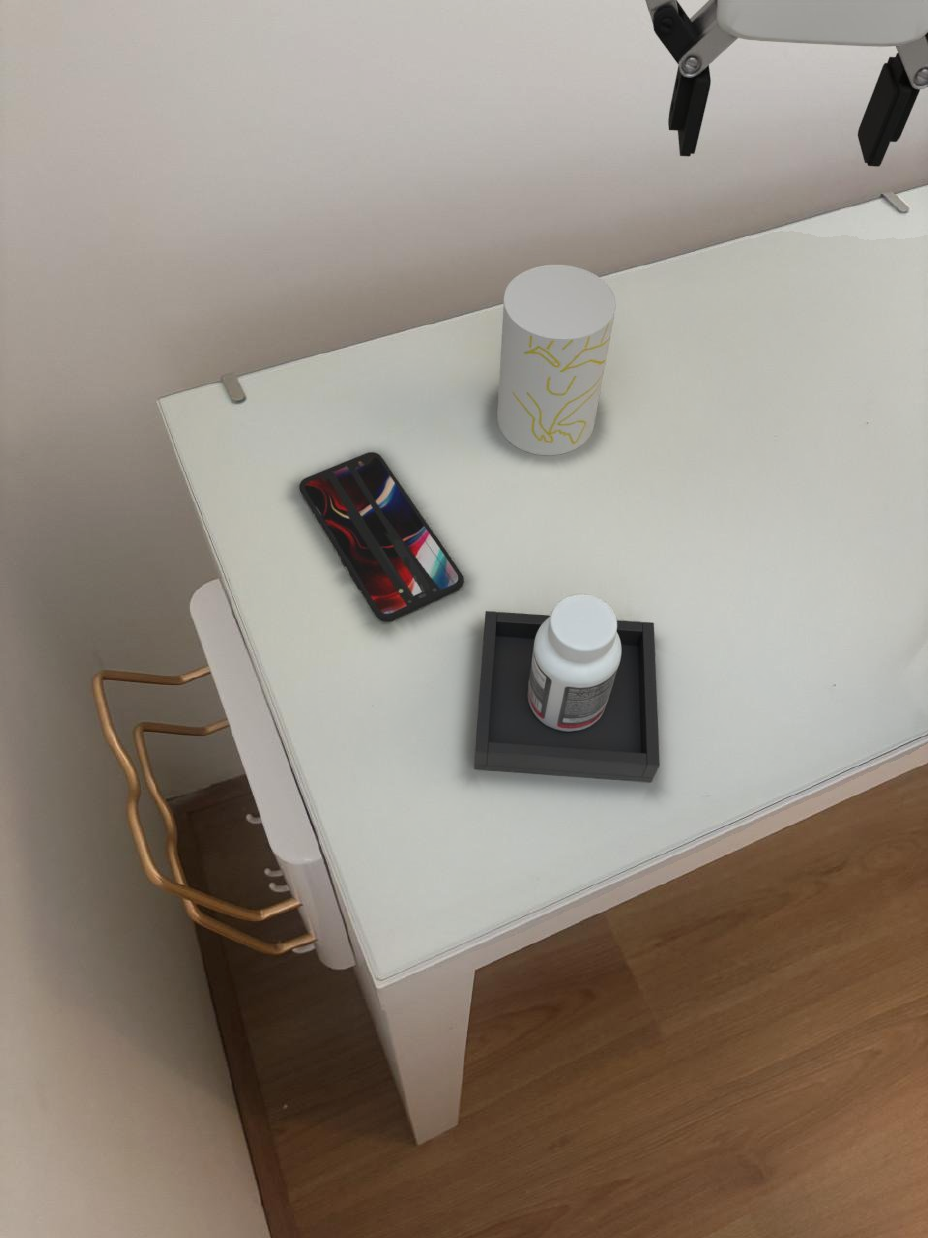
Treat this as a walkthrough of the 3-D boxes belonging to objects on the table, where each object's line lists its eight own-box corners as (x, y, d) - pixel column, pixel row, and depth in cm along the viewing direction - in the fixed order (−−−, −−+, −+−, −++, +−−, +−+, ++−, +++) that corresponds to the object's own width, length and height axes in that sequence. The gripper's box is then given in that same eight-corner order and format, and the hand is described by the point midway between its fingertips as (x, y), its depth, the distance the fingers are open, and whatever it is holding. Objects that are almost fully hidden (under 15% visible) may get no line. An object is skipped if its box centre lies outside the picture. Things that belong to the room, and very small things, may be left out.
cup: (513, 463, 74) (523, 348, 64) (485, 393, 78) (490, 274, 68) (608, 444, 75) (632, 327, 65) (575, 376, 79) (593, 256, 69)
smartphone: (376, 447, 74) (468, 581, 67) (376, 453, 74) (468, 587, 67) (294, 481, 72) (380, 623, 65) (295, 487, 72) (380, 628, 66)
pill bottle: (616, 679, 63) (641, 602, 54) (591, 746, 60) (613, 675, 52) (543, 652, 64) (556, 572, 56) (514, 716, 61) (524, 642, 53)
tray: (646, 642, 65) (654, 622, 63) (651, 782, 60) (659, 766, 57) (484, 631, 66) (485, 610, 63) (474, 769, 60) (474, 752, 58)
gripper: (1119, -319, 36) (926, 116, 50) (675, -336, 36) (612, 99, 51) (1184, -253, 32) (955, 198, 46) (685, -273, 32) (613, 179, 47)
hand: (775, 146), depth 49 cm, fingers open, 9 cm apart
